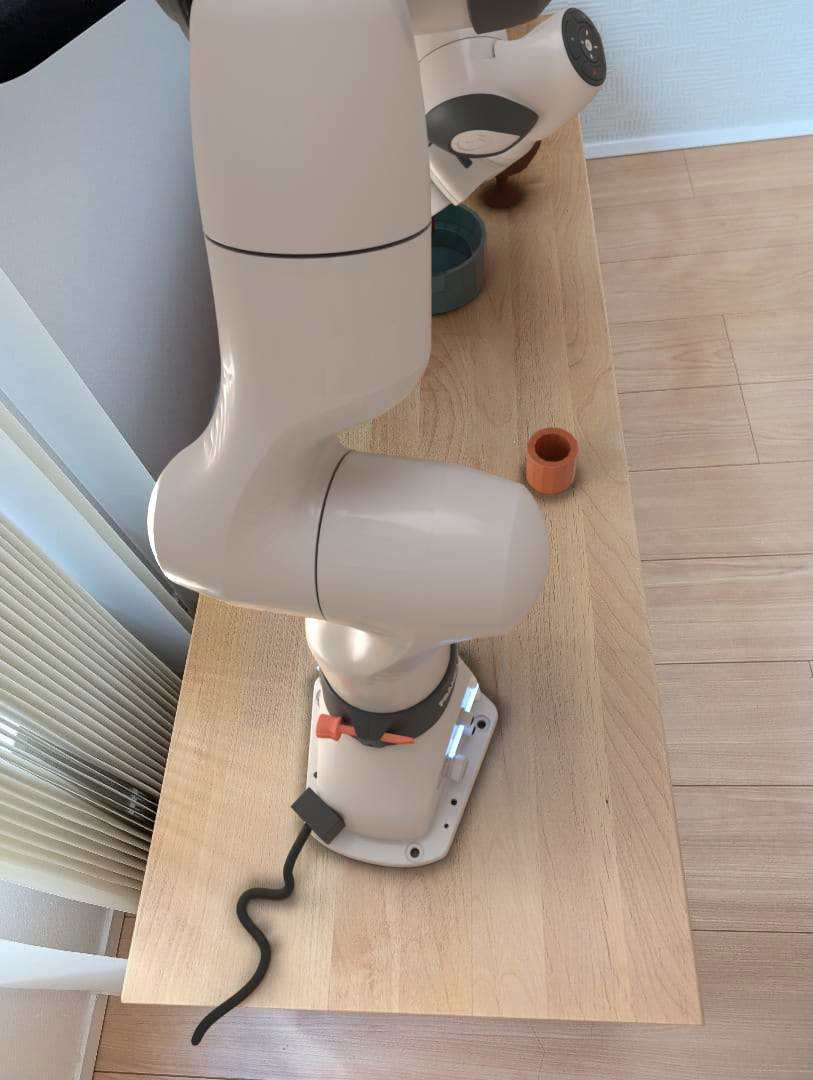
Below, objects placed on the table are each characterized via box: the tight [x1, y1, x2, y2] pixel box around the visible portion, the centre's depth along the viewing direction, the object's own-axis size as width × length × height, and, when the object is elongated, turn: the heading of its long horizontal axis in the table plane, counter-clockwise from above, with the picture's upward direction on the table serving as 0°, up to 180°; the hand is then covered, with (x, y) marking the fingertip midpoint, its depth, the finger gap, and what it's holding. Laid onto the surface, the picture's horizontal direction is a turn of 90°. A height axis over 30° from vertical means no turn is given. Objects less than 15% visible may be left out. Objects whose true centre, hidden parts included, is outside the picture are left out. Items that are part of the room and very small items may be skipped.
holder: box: [525, 426, 579, 495], centre depth 87 cm, size 5×6×6 cm
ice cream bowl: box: [482, 140, 542, 209], centre depth 109 cm, size 11×11×15 cm
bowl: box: [431, 203, 489, 315], centre depth 105 cm, size 15×15×7 cm
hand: (418, 187), depth 96 cm, fingers closed
